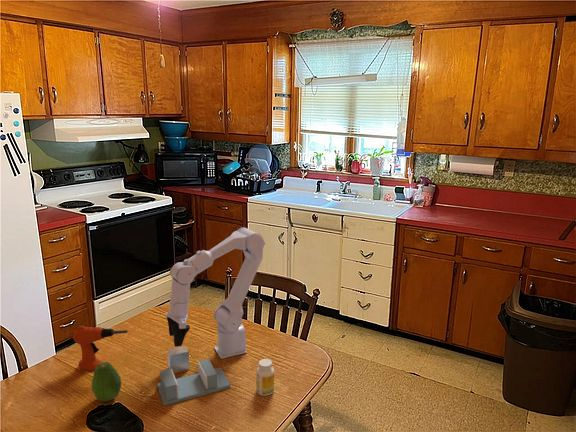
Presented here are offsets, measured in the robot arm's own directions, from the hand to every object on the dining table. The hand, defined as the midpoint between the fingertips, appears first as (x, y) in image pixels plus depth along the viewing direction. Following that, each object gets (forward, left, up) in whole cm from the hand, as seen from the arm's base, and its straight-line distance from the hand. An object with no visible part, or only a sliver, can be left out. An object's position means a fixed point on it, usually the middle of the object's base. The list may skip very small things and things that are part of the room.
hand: (175, 340), depth 140 cm
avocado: (+21, +7, -10) cm, 25 cm away
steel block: (-1, 0, -10) cm, 10 cm away
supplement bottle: (-22, +23, -10) cm, 33 cm away
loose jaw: (-7, +12, -9) cm, 17 cm away
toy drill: (+21, -11, -10) cm, 26 cm away
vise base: (-3, +12, -10) cm, 16 cm away
